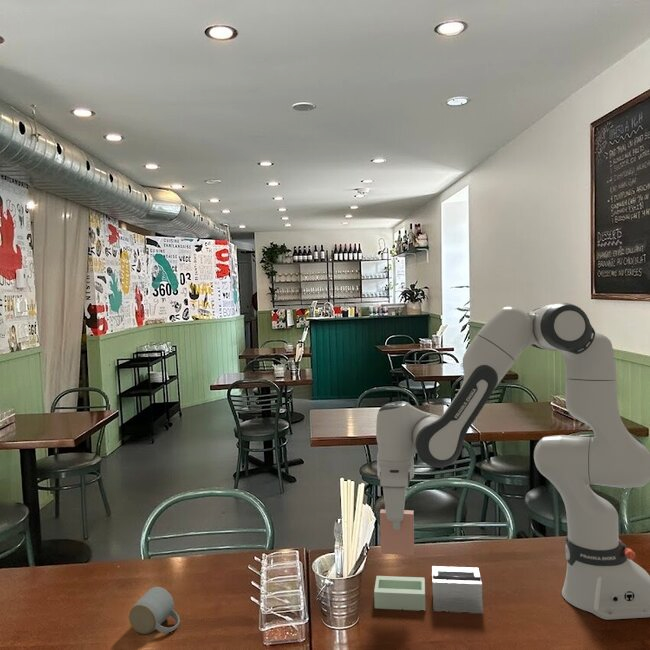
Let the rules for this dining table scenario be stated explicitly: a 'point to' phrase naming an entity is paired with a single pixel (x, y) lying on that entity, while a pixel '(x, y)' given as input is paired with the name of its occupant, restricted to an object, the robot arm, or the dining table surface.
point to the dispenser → (457, 589)
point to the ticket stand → (399, 593)
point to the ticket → (397, 534)
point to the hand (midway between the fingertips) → (397, 525)
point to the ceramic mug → (153, 611)
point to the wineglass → (338, 527)
